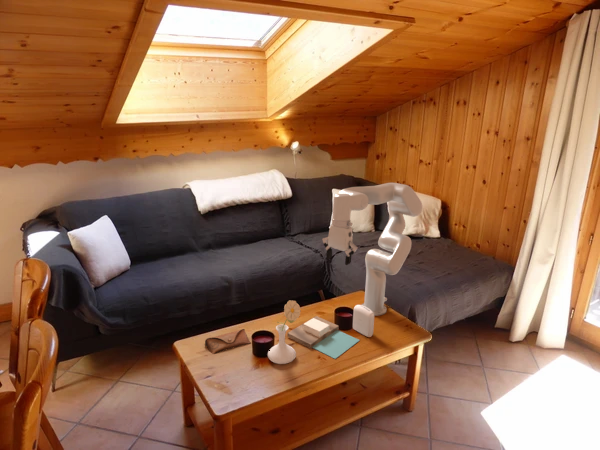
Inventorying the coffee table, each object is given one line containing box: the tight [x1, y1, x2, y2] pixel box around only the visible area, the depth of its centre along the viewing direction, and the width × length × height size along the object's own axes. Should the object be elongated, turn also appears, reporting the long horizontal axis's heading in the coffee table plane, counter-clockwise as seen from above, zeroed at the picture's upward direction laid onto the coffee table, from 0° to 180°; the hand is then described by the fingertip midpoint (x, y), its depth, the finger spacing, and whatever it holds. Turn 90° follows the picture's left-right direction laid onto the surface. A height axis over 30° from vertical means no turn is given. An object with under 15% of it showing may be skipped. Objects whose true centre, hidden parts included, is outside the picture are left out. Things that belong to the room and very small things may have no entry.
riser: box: [287, 315, 340, 349], centre depth 181 cm, size 20×13×2 cm, turn 139°
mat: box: [311, 330, 361, 360], centre depth 174 cm, size 18×12×1 cm, turn 139°
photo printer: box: [352, 304, 375, 338], centre depth 182 cm, size 10×4×12 cm, turn 39°
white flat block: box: [302, 317, 329, 337], centre depth 180 cm, size 7×9×3 cm
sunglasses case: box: [204, 328, 252, 355], centre depth 173 cm, size 18×7×7 cm, turn 121°
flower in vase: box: [267, 300, 302, 365], centre depth 161 cm, size 13×11×25 cm
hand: (338, 261), depth 176 cm, fingers open, 9 cm apart
